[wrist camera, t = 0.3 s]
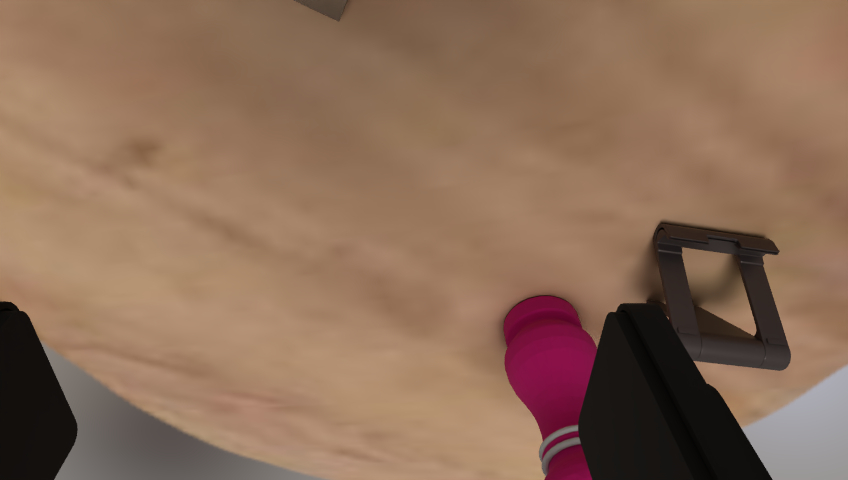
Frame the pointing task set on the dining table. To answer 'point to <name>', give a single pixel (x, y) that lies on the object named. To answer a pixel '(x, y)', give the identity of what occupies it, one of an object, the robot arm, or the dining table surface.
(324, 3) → the pin board
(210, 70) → the dining table surface
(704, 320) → the portable electronic device stand
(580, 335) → the pepper mill
